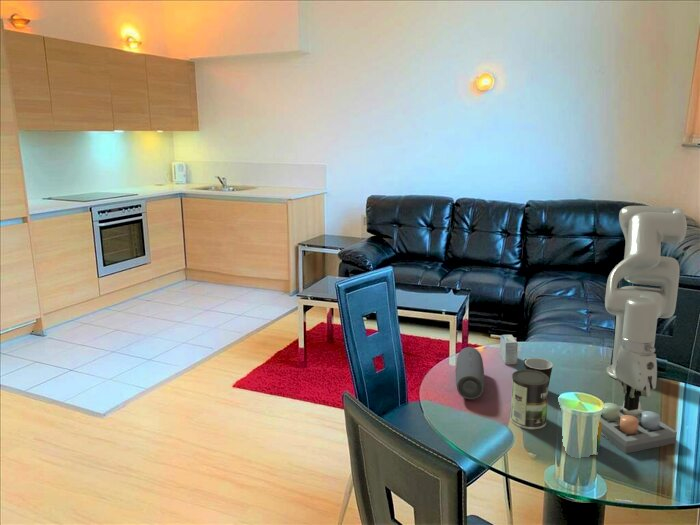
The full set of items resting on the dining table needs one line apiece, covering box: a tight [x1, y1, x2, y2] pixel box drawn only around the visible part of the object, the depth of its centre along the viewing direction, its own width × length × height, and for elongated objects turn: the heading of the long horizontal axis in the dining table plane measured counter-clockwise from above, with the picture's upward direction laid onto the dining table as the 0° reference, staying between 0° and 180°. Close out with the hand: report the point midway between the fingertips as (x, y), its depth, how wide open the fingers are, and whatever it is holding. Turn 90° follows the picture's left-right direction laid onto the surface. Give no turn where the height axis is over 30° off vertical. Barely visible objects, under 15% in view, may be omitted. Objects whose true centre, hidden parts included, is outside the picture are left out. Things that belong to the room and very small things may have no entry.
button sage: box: [602, 402, 620, 421], centre depth 153 cm, size 4×4×3 cm
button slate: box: [641, 410, 661, 430], centre depth 148 cm, size 4×4×3 cm
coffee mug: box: [523, 357, 554, 383], centre depth 177 cm, size 12×9×10 cm
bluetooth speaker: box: [454, 346, 485, 400], centre depth 180 cm, size 23×9×10 cm, turn 168°
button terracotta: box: [619, 415, 639, 434], centre depth 146 cm, size 4×4×3 cm
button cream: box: [622, 401, 642, 417], centre depth 155 cm, size 4×4×3 cm
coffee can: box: [510, 368, 551, 430], centre depth 158 cm, size 10×10×14 cm
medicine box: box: [499, 334, 519, 366], centre depth 199 cm, size 8×4×9 cm, turn 179°
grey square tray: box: [600, 404, 677, 454], centre depth 151 cm, size 16×16×4 cm
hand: (630, 408), depth 145 cm, fingers closed
